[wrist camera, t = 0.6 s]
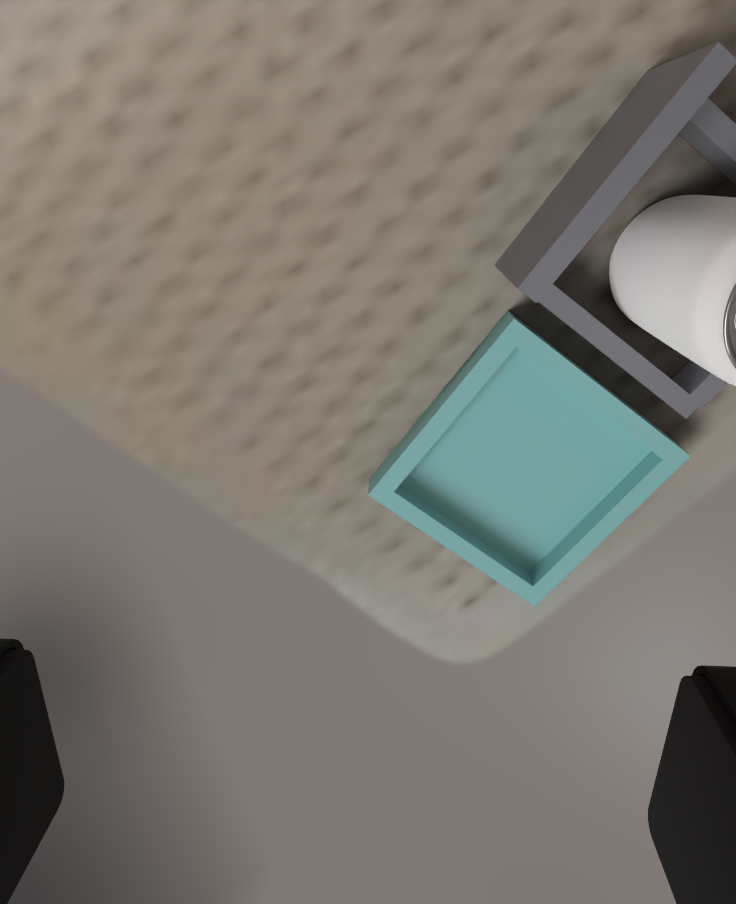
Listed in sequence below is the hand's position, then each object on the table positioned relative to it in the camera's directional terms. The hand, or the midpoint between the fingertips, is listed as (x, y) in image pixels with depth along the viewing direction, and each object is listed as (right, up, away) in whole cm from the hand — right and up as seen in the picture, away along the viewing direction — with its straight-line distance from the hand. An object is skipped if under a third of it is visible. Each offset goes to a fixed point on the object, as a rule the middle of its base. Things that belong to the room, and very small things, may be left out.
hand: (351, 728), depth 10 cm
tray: (+9, +4, +27) cm, 29 cm away
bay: (+15, +13, +23) cm, 30 cm away
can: (+15, +13, +23) cm, 31 cm away
